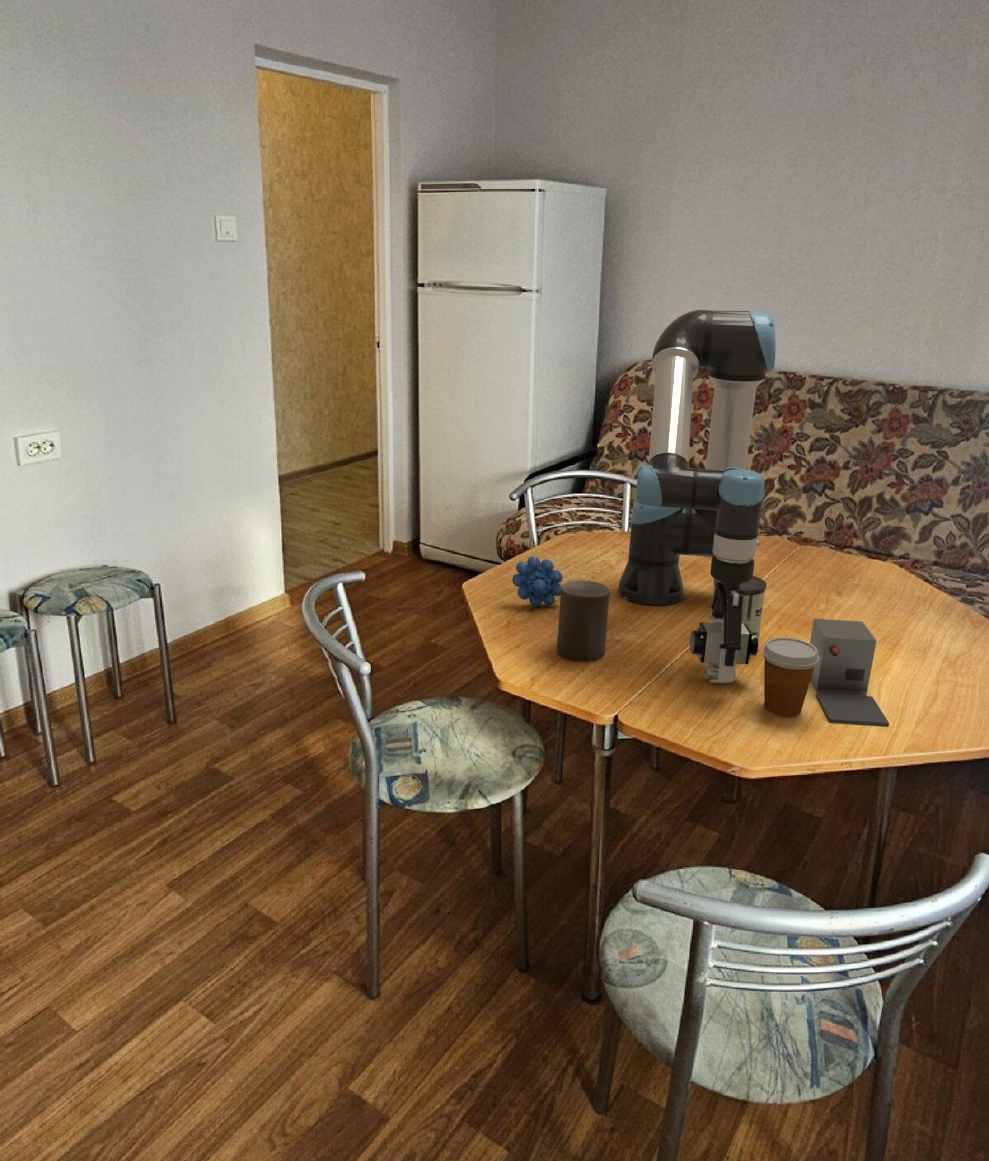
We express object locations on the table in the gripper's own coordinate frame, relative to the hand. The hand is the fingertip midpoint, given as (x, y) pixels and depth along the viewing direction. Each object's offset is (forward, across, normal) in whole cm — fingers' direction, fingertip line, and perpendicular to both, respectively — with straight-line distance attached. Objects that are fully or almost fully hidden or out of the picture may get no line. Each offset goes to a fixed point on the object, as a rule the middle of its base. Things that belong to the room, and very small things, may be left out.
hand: (720, 664), depth 170 cm
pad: (+3, -9, -22) cm, 24 cm away
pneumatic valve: (+4, 0, 0) cm, 4 cm away
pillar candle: (+3, +9, +26) cm, 28 cm away
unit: (+3, +2, -22) cm, 22 cm away
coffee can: (+3, +17, -5) cm, 18 cm away
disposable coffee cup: (+4, -10, -10) cm, 14 cm away
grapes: (+3, +31, +36) cm, 48 cm away
